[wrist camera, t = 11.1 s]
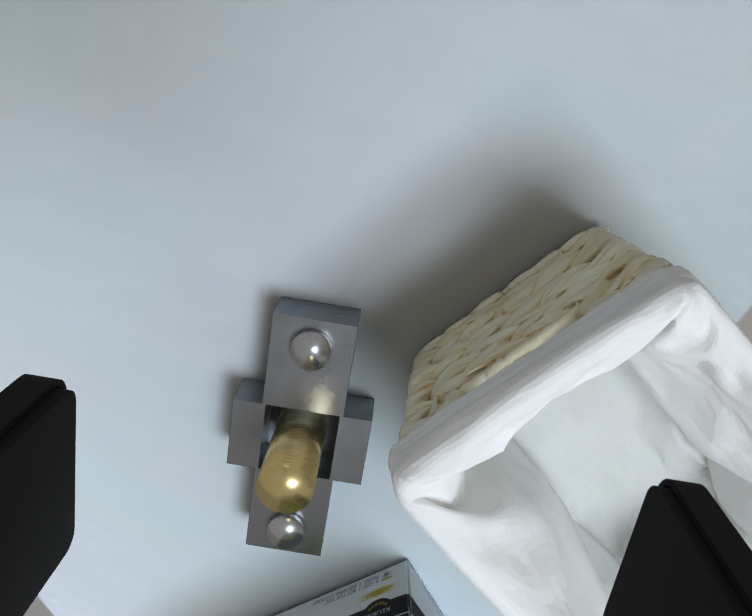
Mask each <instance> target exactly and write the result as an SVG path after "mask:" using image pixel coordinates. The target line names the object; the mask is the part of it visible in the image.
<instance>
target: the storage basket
mask: <svg viewBox="0 0 752 616" xmlns="http://www.w3.org/2000/svg"><path fill="white" fill-rule="evenodd" d="M609 231H610V228H609V226H608V227H603V228H598V227H596V226H595V227H591V228H590V229H588V230H586V231H583V232H580V233H578V234H576V235H575V236H574V237H572V238H571V239H570V240H568V241H567V242H566V243H565V244H564V245H563V246H562V247H561V248H560V249H558V250H555V251H553V252H551V253H549V254H548V255H546V256H545V257H544V258H543V259H542V260H540V261H539V262H538V263H537V264H536V265H535V266H534V267H532V268H531V269H529V270H527V271H525V272H523V273H521V274H520V275H519V276H518V277H516V278H515V279H514V280H512V281H511V282H510V283H509V284H508V286H507V287H506V288H505V289H504V290H503V291H501V292H496V293H495V294H493V295H491V296H490V297H488V298H487V299H485V300H484V301H482V302H481V303H480V304H479V305H478V306H477V307H476V308H475V309H474V310H473V311H472V312H471V313H470V314H469V315H468V316H466V317H463V318H462V319H460V320H459V321H457V322H456V323H454V324H452V325H451V326H450V327H449V328H447V329H446V331H445V332H444V333H443V334H442V335H440V336H437V337H436V338H435V339H433V340H432V341H431V342H429V343H428V344H427V345H425V346H424V347H423V348H422V349H421V350H420V352H419V353H418V355H417V356H416V357H415V359H414V361H413V368H412V373H411V375H410V381H409V384H408V394H407V395H408V398H407V400H406V402H405V408H406V409H405V413H404V419H405V422H404V424H403V425H402V427H401V428H400V432H399V442H398V443H396V444H395V445H393V446H392V448H391V450H390V452H389V460H388V465H389V469H390V471H391V477H392V483H393V487H394V491H395V495H396V498H397V500H398V501H399V502H400V503H401V505H402V506H403V507H404V508H405V510H406V511H407V512H408V513H409V514H410V516H411V517H412V518H413V519H414V520H415V522H416V523H417V524H418V525H419V526H420V527H421V528H422V529H423V531H424V532H425V533H426V534H427V535H428V536H429V537H430V539H431V540H432V541H433V542H434V543H435V544H436V545H437V546H438V547H439V549H440V550H441V551H442V552H443V553H444V554H445V555H446V556H447V557H448V559H449V560H450V561H451V562H452V563H453V564H454V565H455V566H456V567H457V568H458V569H459V570H460V572H461V573H462V574H463V575H464V576H465V577H466V578H467V579H468V580H469V581H470V582H471V583H472V584H473V585H474V586H475V587H476V588H477V589H478V591H479V592H480V593H481V594H482V595H483V596H484V597H485V598H486V599H487V600H488V601H489V602H490V603H491V604H492V605H493V607H494V608H495V609H496V610H497V611H498V612H499V613H500V614H501V615H502V616H603V613H604V610H605V607H606V604H607V602H608V599H609V596H610V593H611V590H612V588H613V585H614V582H615V579H616V576H617V574H618V571H619V568H620V565H621V562H622V560H623V557H624V554H625V551H626V549H627V546H628V543H629V540H630V537H631V535H632V532H633V529H634V526H635V523H636V521H637V518H638V515H639V512H640V509H641V507H642V504H643V501H644V498H645V496H646V493H647V491H648V489H649V488H650V487H651V486H653V485H655V486H658V485H659V483H660V482H661V481H662V480H664V479H666V478H667V479H673V480H679V481H685V482H692V483H698V484H702V485H704V486H705V487H706V488H707V490H708V491H709V492H710V494H711V495H712V497H713V498H714V499H715V501H716V502H717V503H718V505H719V506H720V508H721V509H722V510H723V512H724V513H725V514H726V516H727V517H728V519H729V520H730V521H731V523H732V524H733V526H734V527H735V528H736V530H737V531H738V532H739V534H740V535H741V537H742V538H743V539H744V541H745V542H746V543H747V545H748V546H749V548H750V549H751V550H752V343H751V342H750V340H749V339H748V338H747V337H746V335H745V334H744V333H743V332H742V331H741V329H740V328H739V327H738V326H737V325H736V323H735V322H734V321H733V320H732V319H731V317H730V316H729V315H728V314H727V313H726V311H725V310H724V309H723V308H722V306H721V305H720V304H719V303H718V301H717V300H716V299H715V298H714V297H713V295H712V294H711V293H710V292H709V291H708V289H707V288H706V287H705V286H704V285H703V284H702V283H701V282H700V281H699V280H698V279H696V277H695V276H694V275H693V274H692V273H691V272H689V271H688V270H687V269H685V268H683V267H681V266H675V265H673V264H672V263H670V262H669V261H667V260H665V259H663V258H657V257H656V256H653V255H648V254H645V253H644V251H643V250H642V249H640V248H639V247H637V246H634V245H633V244H628V243H627V242H626V241H624V240H623V239H622V238H620V237H616V236H614V235H613V234H611V233H610V232H609Z"/></svg>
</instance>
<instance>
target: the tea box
mask: <svg viewBox="0 0 752 616" xmlns="http://www.w3.org/2000/svg"><path fill="white" fill-rule="evenodd" d="M275 616H443V614H442V613H441V611H440V609H439V608H438V606H437V605H436V603H435V602H434V600H433V599H432V597H431V596H430V594H429V592H428V591H427V589H426V588H425V586H424V585H423V583H422V581H421V580H420V578H419V577H418V575H417V573H416V572H415V570H414V569H413V568H412V566H411V565H410V563H409V561H408V560H406V561H403V562H401V563H398V564H396V565H394V566H391V567H389V568H387V569H384V570H382V571H380V572H377V573H375V574H373V575H370V576H368V577H366V578H363V579H361V580H358V581H356V582H354V583H351V584H349V585H346V586H344V587H342V588H339V589H337V590H335V591H332V592H330V593H327V594H325V595H323V596H320V597H318V598H315V599H313V600H311V601H308V602H306V603H303V604H301V605H299V606H296V607H294V608H292V609H289V610H287V611H285V612H282V613H280V614H277V615H275Z"/></svg>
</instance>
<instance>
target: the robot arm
mask: <svg viewBox="0 0 752 616" xmlns="http://www.w3.org/2000/svg"><path fill="white" fill-rule="evenodd" d="M75 440H76V396H75V393H74V392H73V391H71V390H66V385H65V382H64V381H63V380H60V379H54V378H48V377H42V376H36V375H30V374H24V375H22V376H20V377H19V378H18V379H16V380H15V381H14V382H13V383H11V384H10V385H9V386H8V387H6V388H5V389H4V390H3V391H2V392H0V616H23V615H24V614H25V612H26V610H27V609H28V608H29V606H30V605H31V603H32V602H33V601H34V599H35V597H36V596H37V595H38V593H39V592H40V591H41V589H42V588H43V586H44V585H45V583H46V582H47V580H48V579H49V578H50V576H51V575H52V573H53V572H54V570H55V569H56V567H57V566H58V565H59V563H60V562H61V560H62V559H63V557H64V556H65V554H66V553H67V551H68V549H69V547H70V545H71V542H72V539H73V535H74V527H75ZM603 616H752V550H751V549H750V548H749V546H748V545H747V543H746V542H745V541H744V539H743V538H742V537H741V535H740V534H739V532H738V531H737V530H736V528H735V527H734V526H733V524H732V523H731V521H730V520H729V519H728V517H727V516H726V514H725V513H724V512H723V510H722V509H721V508H720V506H719V505H718V503H717V502H716V501H715V499H714V498H713V497H712V495H711V494H710V492H709V491H708V490H707V488H706V487H705V486H704V485H702V484H698V483H692V482H685V481H679V480H673V479H667V478H666V479H664V480H662V481H661V482H660V483H659V485H658V486H655V485H653V486H651V487H650V488H649V489H648V491H647V493H646V496H645V498H644V501H643V504H642V507H641V509H640V512H639V515H638V518H637V521H636V523H635V526H634V529H633V532H632V535H631V537H630V540H629V543H628V546H627V549H626V551H625V554H624V557H623V560H622V562H621V565H620V568H619V571H618V574H617V576H616V579H615V582H614V585H613V588H612V590H611V593H610V596H609V599H608V602H607V604H606V607H605V610H604V613H603Z"/></svg>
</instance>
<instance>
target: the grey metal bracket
mask: <svg viewBox="0 0 752 616" xmlns="http://www.w3.org/2000/svg"><path fill="white" fill-rule="evenodd" d="M360 312H361V310H360V309H354V308H348V307H342V306H336V305H330V304H324V303H317V302H311V301H305V300H299V299H293V298H287V297H281V299H280V301H279V303H278V305H277V306H276V308H275V310H274V312H273V317H272V326H271V334H270V343H269V351H268V360H267V368H266V377H265V381H260V380H254V379H248V378H244V379H243V381H242V383H241V385H240V387H239V389H238V391H237V393H236V395H235V397H234V399H233V406H232V416H231V426H230V436H229V446H228V456H227V463H229V464H235V465H242V466H248V467H254V468H255V471H254V479H253V488H252V496H251V505H250V513H249V522H248V530H247V539H246V544H248V545H254V546H261V547H267V548H273V549H280V550H286V551H292V552H298V553H305V554H311V555H317V556H320V554H321V548H322V542H323V536H324V530H325V525H326V518H327V512H328V506H329V500H330V494H331V488H332V482H333V480H335V481H341V482H347V483H354V484H360V485H361V480H362V474H363V469H364V463H365V458H366V452H367V447H368V441H369V436H370V430H371V425H372V417H373V405H374V399H371V398H365V397H358V396H352V395H347V391H348V385H349V379H350V373H351V367H352V361H353V355H354V349H355V343H356V337H357V330H358V324H359V318H360ZM272 406H279V407H285V408H291V409H297V410H303V411H309V412H316V413H322V414H328V415H334V416H340V419H339V425H338V431H337V437H336V443H335V449H334V454H330V453H324V452H322V454H321V458H320V463H319V468H318V473H317V477H316V482H315V487H314V491H313V496H312V499H311V501H310V503H309V504H308V505H307V506H306V507H305V508H304V509H302V510H300V511H298V512H295V513H290V514H283V513H278V512H275V511H272V510H270V509H269V508H267V507H266V506H264V505H263V504H262V502H261V501H260V500H259V498H258V496H257V493H256V481H257V479H258V476H259V473H260V470H261V467H262V465H263V462H264V459H265V456H266V453H267V451H268V448H269V445H270V444H268V443H267V439H268V431H269V423H270V415H271V407H272Z"/></svg>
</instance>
